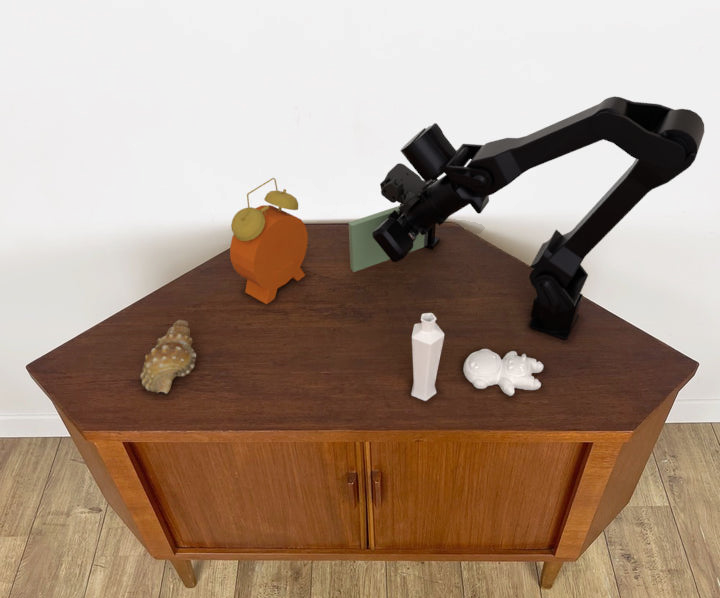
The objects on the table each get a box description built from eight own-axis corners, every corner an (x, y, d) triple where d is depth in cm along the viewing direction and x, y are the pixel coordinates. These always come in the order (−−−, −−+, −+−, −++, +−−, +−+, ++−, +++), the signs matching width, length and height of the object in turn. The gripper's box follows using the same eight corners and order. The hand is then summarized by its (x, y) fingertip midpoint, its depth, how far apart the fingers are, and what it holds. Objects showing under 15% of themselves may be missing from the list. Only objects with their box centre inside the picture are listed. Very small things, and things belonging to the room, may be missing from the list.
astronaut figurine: (536, 403, 99) (539, 390, 97) (457, 384, 102) (459, 370, 100) (545, 363, 105) (549, 349, 102) (470, 346, 108) (472, 332, 105)
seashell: (149, 373, 109) (152, 314, 106) (199, 378, 110) (203, 320, 107) (134, 393, 101) (136, 330, 98) (189, 399, 101) (192, 336, 98)
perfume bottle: (437, 404, 99) (443, 331, 88) (407, 400, 100) (411, 327, 89) (440, 381, 102) (447, 308, 92) (412, 378, 103) (416, 305, 92)
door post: (425, 237, 129) (427, 196, 122) (439, 241, 127) (442, 200, 121) (418, 245, 127) (420, 204, 120) (432, 249, 126) (435, 209, 119)
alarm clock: (287, 258, 125) (275, 162, 110) (312, 271, 122) (302, 173, 108) (236, 295, 118) (216, 197, 103) (261, 309, 115) (243, 210, 101)
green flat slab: (419, 237, 127) (422, 191, 120) (428, 245, 125) (431, 199, 118) (345, 263, 122) (343, 216, 115) (353, 272, 120) (351, 225, 113)
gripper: (438, 131, 109) (380, 175, 121) (382, 185, 98) (325, 228, 110) (479, 185, 111) (418, 223, 123) (428, 244, 100) (367, 280, 113)
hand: (383, 237), depth 117 cm, fingers closed
